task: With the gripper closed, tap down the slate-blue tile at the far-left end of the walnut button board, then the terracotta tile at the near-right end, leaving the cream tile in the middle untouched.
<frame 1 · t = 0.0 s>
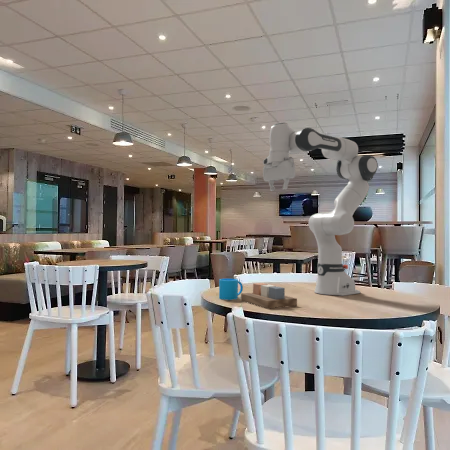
hand: (278, 190, 192), 48 cm above the table, fingers open, 8 cm apart
slate tile 3: (276, 293, 171), point 5 cm above the table, slide at 0.0 cm
terracotta tile 1: (260, 289, 182), point 5 cm above the table, slide at 0.0 cm
mug: (231, 298, 189), on the table
cream tile 2: (268, 291, 176), point 5 cm above the table, slide at 0.0 cm
button board: (268, 303, 176), on the table
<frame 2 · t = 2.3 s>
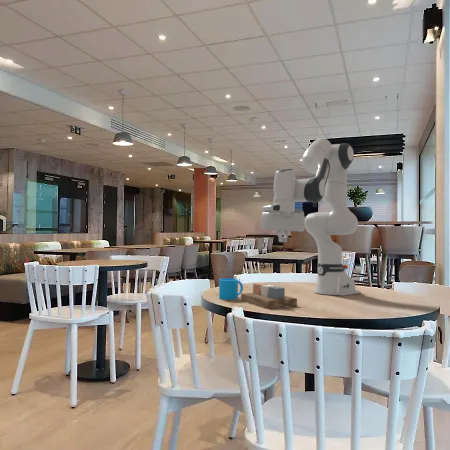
hand: (282, 242, 174), 25 cm above the table, fingers closed
nothing on the table moved.
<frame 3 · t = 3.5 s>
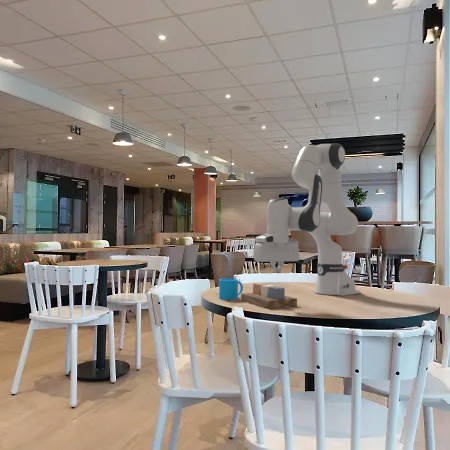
hand: (276, 272, 171), 13 cm above the table, fingers closed
nothing on the table moved.
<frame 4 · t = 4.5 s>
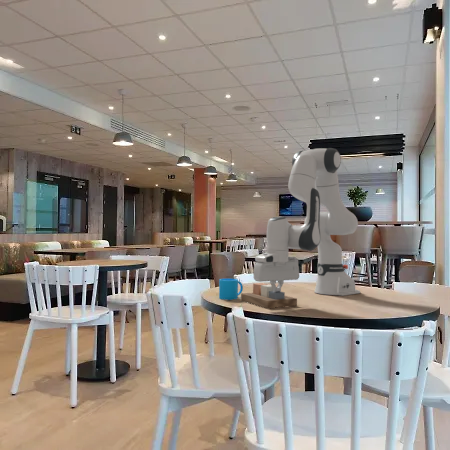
hand: (276, 291, 171), 6 cm above the table, fingers closed, pressing on slate tile 3
slate tile 3: (276, 297, 171), point 3 cm above the table, slide at 1.7 cm, touching gripper
everything else where it was.
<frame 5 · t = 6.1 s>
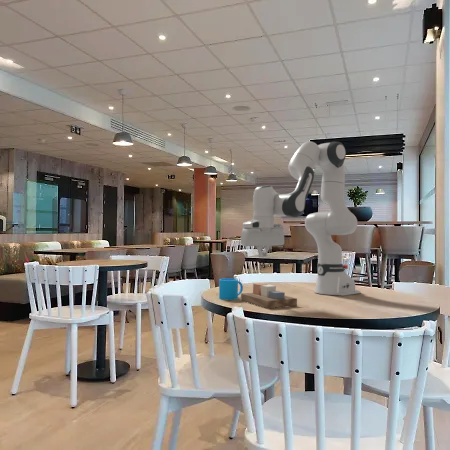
hand: (263, 256, 180), 19 cm above the table, fingers closed
slate tile 3: (276, 297, 171), point 3 cm above the table, slide at 1.8 cm
everything else where it was.
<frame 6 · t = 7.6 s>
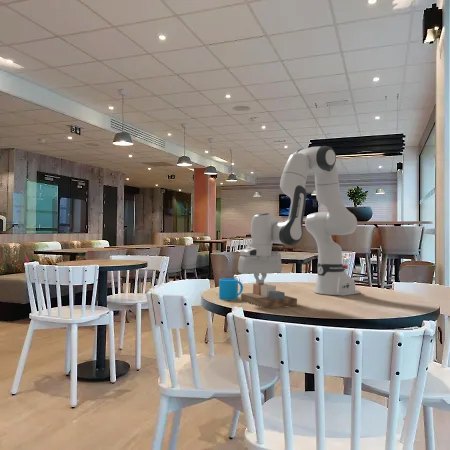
hand: (260, 284, 181), 7 cm above the table, fingers closed, pressing on terracotta tile 1
terracotta tile 1: (260, 289, 182), point 5 cm above the table, slide at 0.1 cm, touching gripper
everything else where it was.
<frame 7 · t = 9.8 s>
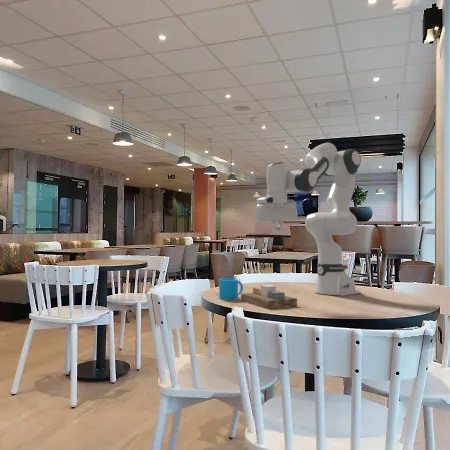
hand: (277, 231, 187), 30 cm above the table, fingers closed
terracotta tile 1: (260, 293, 182), point 3 cm above the table, slide at 1.8 cm
everything else where it was.
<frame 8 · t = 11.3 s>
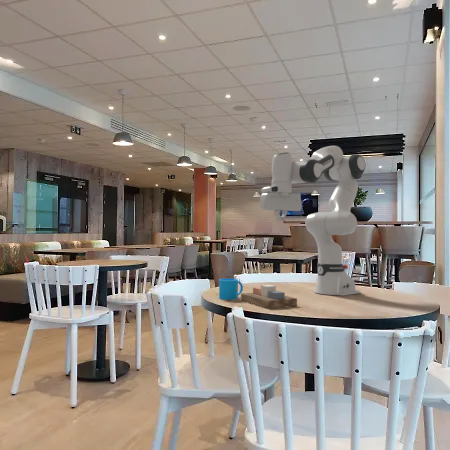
hand: (281, 220, 188), 34 cm above the table, fingers closed
nothing on the table moved.
at the end: slate tile 3 slide at 1.8 cm; terracotta tile 1 slide at 1.8 cm; cream tile 2 slide at 0.0 cm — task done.
